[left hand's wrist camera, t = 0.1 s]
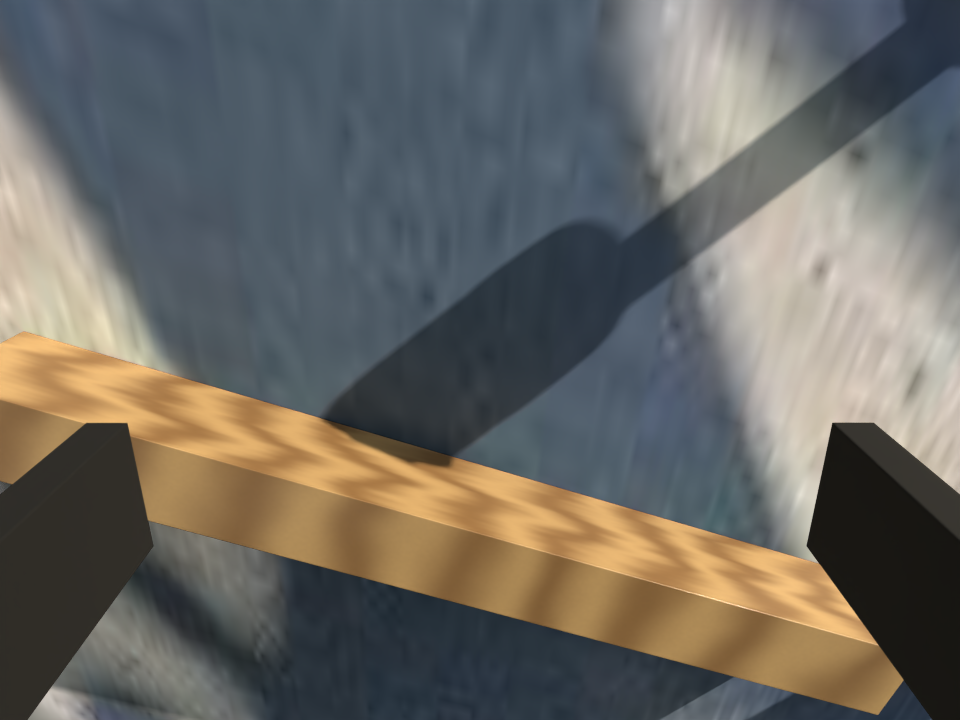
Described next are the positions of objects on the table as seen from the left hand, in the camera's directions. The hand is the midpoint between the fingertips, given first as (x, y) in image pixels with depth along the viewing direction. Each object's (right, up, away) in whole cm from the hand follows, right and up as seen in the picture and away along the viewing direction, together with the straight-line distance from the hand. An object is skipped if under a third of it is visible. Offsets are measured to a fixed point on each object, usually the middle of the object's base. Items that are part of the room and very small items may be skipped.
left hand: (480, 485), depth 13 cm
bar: (-1, -6, +33) cm, 33 cm away
